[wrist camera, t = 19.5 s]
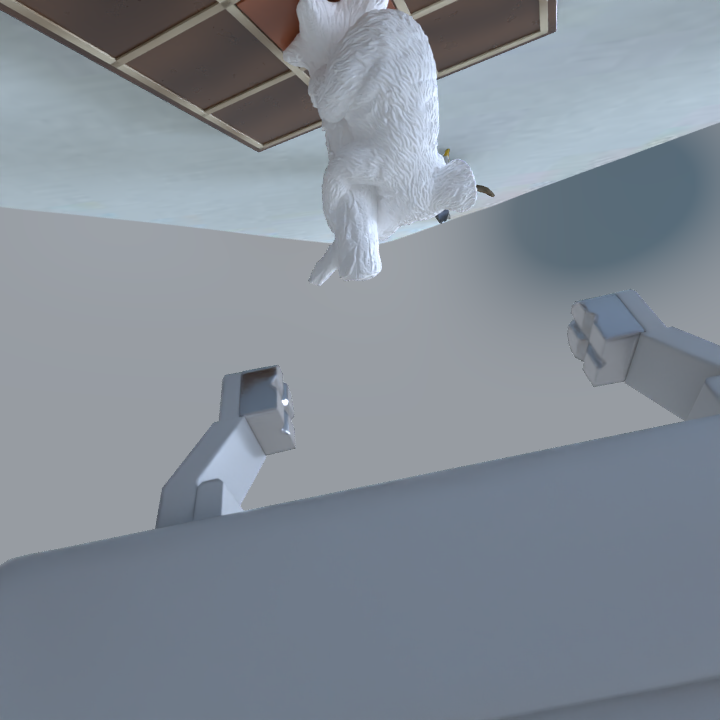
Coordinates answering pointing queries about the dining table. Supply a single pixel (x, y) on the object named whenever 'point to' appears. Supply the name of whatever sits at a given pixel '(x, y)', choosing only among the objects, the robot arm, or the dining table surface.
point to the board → (257, 50)
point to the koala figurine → (374, 128)
